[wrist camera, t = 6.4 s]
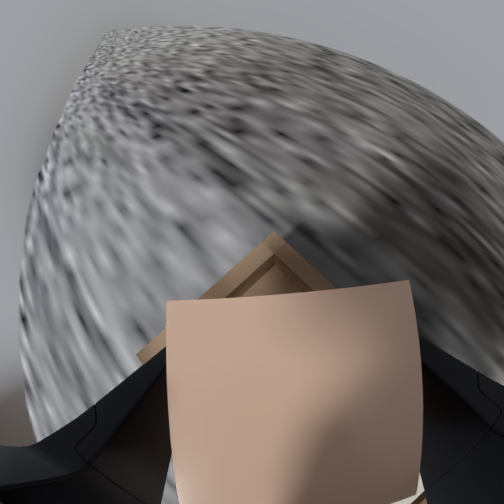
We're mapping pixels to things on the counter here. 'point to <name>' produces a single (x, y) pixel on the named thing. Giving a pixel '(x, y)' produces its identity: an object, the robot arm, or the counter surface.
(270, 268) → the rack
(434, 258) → the counter surface
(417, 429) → the clay bar
